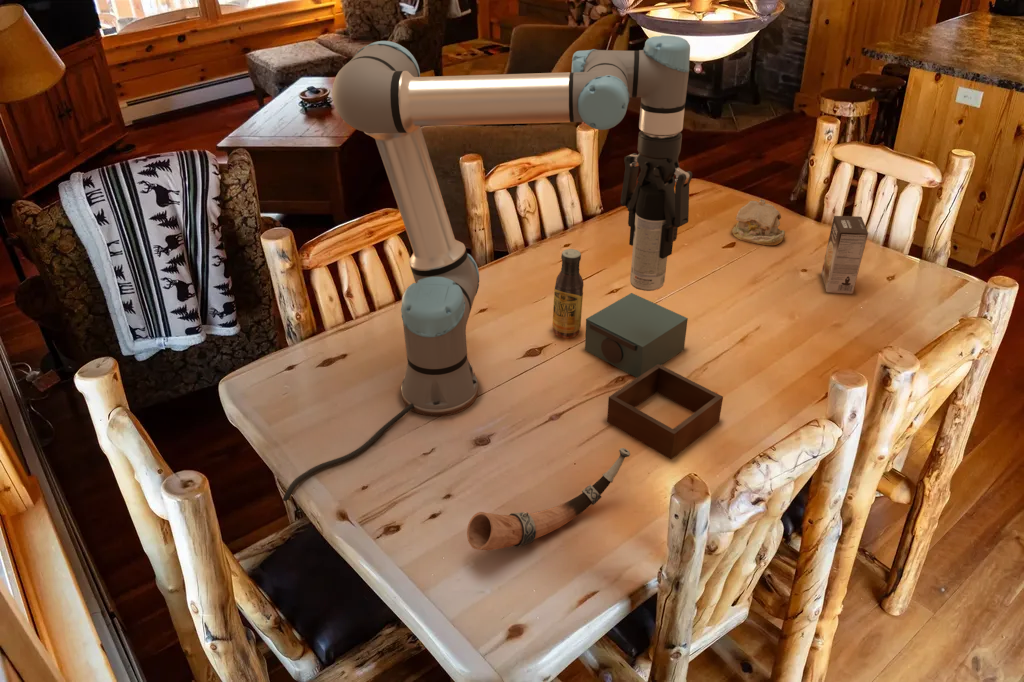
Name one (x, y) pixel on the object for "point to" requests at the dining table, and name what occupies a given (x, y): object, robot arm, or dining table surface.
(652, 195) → the spray can
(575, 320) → the sauce bottle
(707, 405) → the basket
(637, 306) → the green block
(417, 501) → the dining table surface
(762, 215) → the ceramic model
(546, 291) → the dining table surface
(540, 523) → the curved blowing horn
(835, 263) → the coffee box
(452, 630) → the dining table surface
